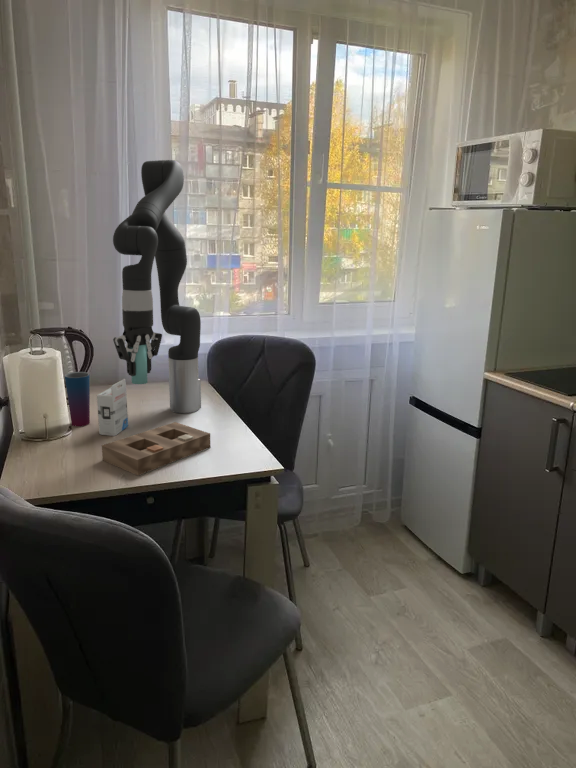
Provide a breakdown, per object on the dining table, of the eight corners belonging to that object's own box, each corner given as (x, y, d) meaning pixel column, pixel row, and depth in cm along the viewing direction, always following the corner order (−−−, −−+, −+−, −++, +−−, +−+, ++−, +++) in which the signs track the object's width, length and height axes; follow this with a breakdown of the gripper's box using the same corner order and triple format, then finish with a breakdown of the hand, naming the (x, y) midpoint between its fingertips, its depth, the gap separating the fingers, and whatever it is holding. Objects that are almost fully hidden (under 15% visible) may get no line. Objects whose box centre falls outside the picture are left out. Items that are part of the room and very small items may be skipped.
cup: (70, 428, 166) (66, 378, 162) (66, 421, 172) (63, 373, 168) (94, 425, 169) (91, 376, 165) (90, 418, 175) (87, 371, 171)
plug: (141, 379, 153) (140, 342, 150) (150, 382, 150) (149, 344, 148) (128, 382, 150) (127, 344, 147) (138, 385, 147) (137, 346, 145)
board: (175, 435, 163) (175, 420, 162) (210, 447, 155) (210, 431, 154) (102, 460, 145) (101, 443, 144) (138, 475, 137) (137, 457, 136)
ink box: (113, 425, 170) (110, 376, 166) (128, 426, 169) (126, 378, 166) (98, 434, 162) (95, 384, 158) (114, 436, 161) (111, 385, 157)
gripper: (151, 304, 153) (152, 367, 157) (104, 308, 142) (107, 375, 146) (169, 307, 148) (170, 372, 152) (122, 311, 137) (125, 381, 142)
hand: (139, 373), depth 149 cm, fingers closed on plug, 4 cm apart
